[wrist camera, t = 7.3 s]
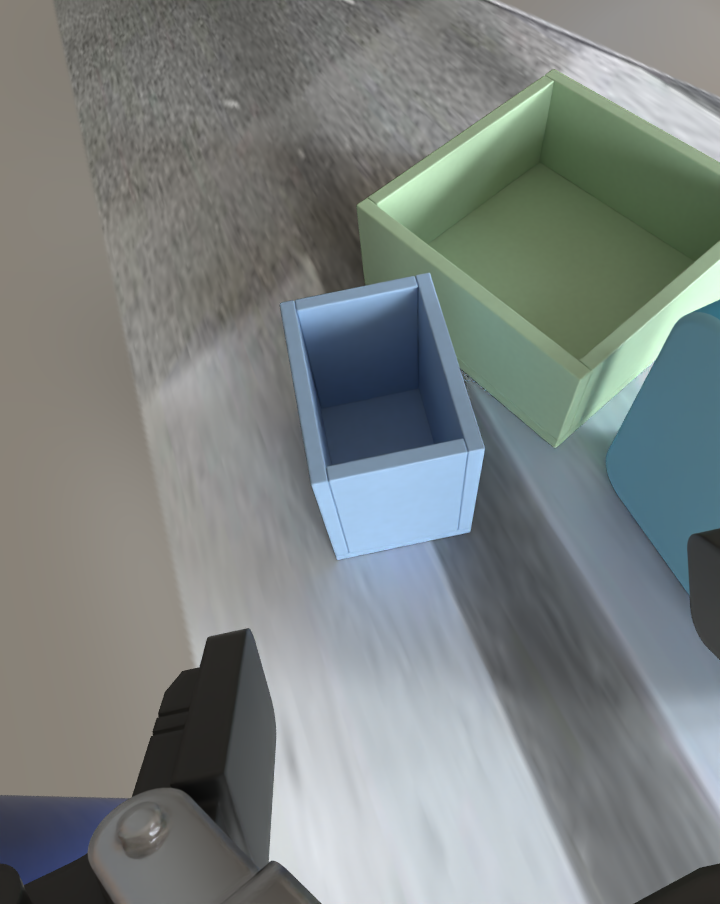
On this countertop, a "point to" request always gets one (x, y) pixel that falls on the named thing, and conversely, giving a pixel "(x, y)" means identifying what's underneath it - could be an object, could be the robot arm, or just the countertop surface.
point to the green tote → (554, 247)
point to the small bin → (383, 415)
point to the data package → (674, 441)
